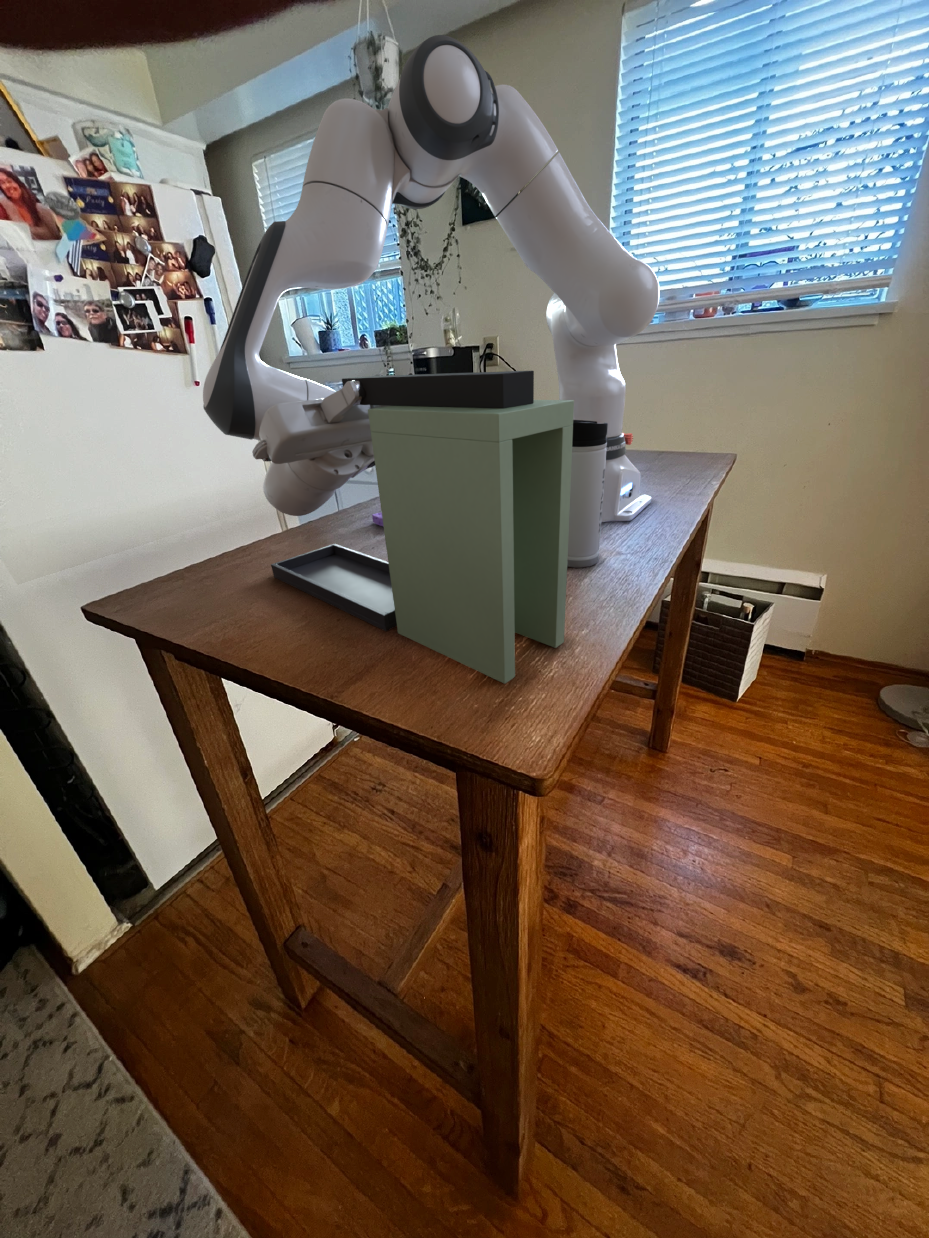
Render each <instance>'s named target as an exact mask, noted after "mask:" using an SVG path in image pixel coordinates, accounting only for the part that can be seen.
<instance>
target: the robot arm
mask: <svg viewBox="0 0 929 1238" xmlns="http://www.w3.org/2000/svg"><path fill="white" fill-rule="evenodd" d="M529 104H530V103H528V102H527V101H526V99H525V98H524V97H523V96H522V94H521V93H520V92H519V91H518V90H517V89H516V88H515V87H513V86H512V85H509V84H504V83H503V84H498V85H495V83H494V80H493V78H492V75H490V73H489V72H488V71H487V70H485V68H484V66H483V65H482V63H481V62H480V60H479V59H478V58H477V56H476V55H475V54H474V53H473V52H472V51H471V50H470V49H469V48H468V47H467V46H466V45H464V44H463V43H462V42H461V41H460V40H457V39H456V38H455V37H452V36H449V35H445V34H435V35H431V36H430V37H428V38H426V39H425V40H423V41H422V42H421V43H420V44H419V45H418V46H416V48H415V49H414V50H413V52H412V53H411V54H410V55H409V57H408V58H407V60H406V62H405V64H404V65H403V67H402V71H401V74H400V78H399V80H398V82H397V84H396V85H395V88H394V90H393V92H392V94H391V97H390V100H389V102H388V105H387V107H385V108H383V109H374V108H373V107H372V106H371V105H369V104H367V103H365V102H364V101H361V100H358V99H355V98H347V97H346V98H339V99H337V100H335V101H333V102H332V103H331V104H329V105H328V106H327V108H326V109H325V111H324V112H323V115H322V117H321V120H320V122H319V125H318V128H317V131H316V133H315V136H314V138H313V142H312V146H311V149H310V152H309V156H308V160H307V164H306V168H305V172H304V177H303V182H302V188H301V191H300V192H301V193H300V197H299V201H298V203H297V205H296V208H295V209H294V211H293V213H292V214H291V215H290V216H289V217H288V218H287V219H286V220H279V221H277V220H276V221H273V222H272V223H271V224H270V225H269V226H268V228H267V229H266V231H265V232H264V233H263V236H262V237H261V239H260V240H259V243H258V245H257V248H256V250H255V253H254V254H253V258H252V260H251V263H250V266H249V268H248V271H247V273H246V276H245V279H244V281H243V284H242V287H241V290H240V293H239V296H238V299H237V301H236V304H235V306H234V310H233V312H232V315H231V319H230V321H229V324H228V327H227V330H226V332H225V335H224V338H223V341H222V344H221V346H220V348H219V352H218V354H217V355H216V357H215V359H214V360H213V362H212V364H211V365H210V367H209V369H208V372H207V374H206V377H205V379H204V383H203V386H202V387H203V388H202V402H203V403H202V404H203V406H202V407H203V410H204V412H205V413H206V415H207V417H208V418H209V419H210V421H211V422H212V424H214V425H215V426H216V428H217V429H218V430H220V432H222V433H223V434H224V435H225V436H229V437H235V438H241V439H246V440H251V441H252V440H256V441H258V442H257V443H256V444H255V446H254V448H253V449H252V457H253V458H254V460H262V461H263V462H270V464H269V466H268V467H267V468H268V469H267V471H266V473H265V476H264V480H263V483H262V490H263V494H264V497H265V499H266V500H267V502H268V503H269V504H270V505H271V506H272V507H273V508H274V509H275V510H277V511H278V512H280V513H282V514H285V515H287V516H293V517H302V516H307V515H310V514H311V513H313V512H315V511H317V510H318V509H319V508H321V507H322V506H324V504H326V503H327V502H328V501H329V500H330V499H331V498H332V497H333V496H334V495H335V493H336V491H337V490H339V489H340V488H341V487H343V486H344V485H345V484H346V483H347V482H348V481H349V480H350V479H353V478H355V477H357V476H358V475H359V474H361V473H362V472H364V471H366V470H368V469H371V468H373V467H375V460H374V453H373V445H372V438H371V430H370V423H369V415H368V409H373V408H380V407H388V406H386V405H359V404H361V402H362V401H363V399H365V397H366V391H365V389H364V388H363V384H362V382H361V381H348V382H346V384H345V385H344V386H343V385H342V388H340V389H338V390H335V389H333V388H331V387H329V386H326V385H323V384H321V383H318V382H316V381H313V380H310V379H307V378H305V377H300V376H298V375H295V374H292V373H289V372H287V371H284V370H281V369H279V368H276V367H274V366H271V365H268V364H267V363H265V362H264V361H262V360H261V358H260V352H261V349H262V346H263V343H264V341H265V337H266V335H267V332H268V330H269V327H270V324H271V321H272V319H273V315H274V312H275V310H276V307H277V305H278V302H279V300H280V298H281V296H282V295H283V294H284V293H285V292H287V291H289V290H294V289H318V290H343V289H349V288H354V287H357V286H358V285H361V284H362V283H364V282H366V281H367V280H368V279H369V278H370V277H372V275H374V273H375V272H376V270H377V267H378V266H379V262H380V260H381V258H382V254H383V250H384V246H385V242H386V238H387V234H388V233H387V232H388V227H389V222H390V218H391V217H390V216H391V210H392V207H393V205H398V206H401V207H404V208H406V209H410V210H423V209H427V208H430V207H431V206H433V205H434V204H436V203H437V202H438V201H440V200H441V198H443V196H444V195H445V193H446V192H447V190H448V189H449V188H450V187H451V186H452V185H453V184H454V183H455V181H456V180H457V178H459V177H460V178H463V179H464V180H467V181H468V182H469V183H470V184H472V185H473V186H474V187H475V188H476V189H477V190H478V191H479V192H480V194H481V195H482V197H483V198H484V200H485V202H486V204H487V205H488V207H489V209H490V211H491V212H492V214H493V216H494V217H495V219H496V221H497V222H498V224H499V226H500V227H501V228H502V230H503V232H504V234H505V235H506V237H507V239H508V240H509V242H510V243H511V245H512V247H513V248H514V249H515V251H516V252H517V255H518V256H519V257H520V259H521V260H522V262H523V263H524V265H525V266H526V267H527V269H528V270H530V271H531V272H533V273H534V274H535V275H536V276H537V277H539V278H540V279H541V280H542V281H543V282H544V283H545V284H546V285H547V286H548V287H549V289H550V290H551V291H552V292H553V294H551V296H550V297H549V300H548V303H547V306H546V307H547V308H546V314H545V315H546V316H545V317H546V323H547V324H546V325H547V328H548V330H549V332H550V334H551V337H552V344H553V351H554V358H555V359H554V360H555V364H556V373H557V381H558V396H559V397H558V400H574V413H573V420H586V421H597V423H608V429H607V435H606V437H607V446H606V463H605V477H604V491H603V505H602V519H601V523H606V522H629V521H632V520H634V519H635V518H636V517H637V516H638V515H639V514H640V513H641V512H642V511H643V510H645V508H647V506H648V505H650V504H651V503H652V496H651V495H648V494H645V493H641V481H642V478H641V472H640V470H638V468H637V467H636V466H635V465H634V464H633V463H632V462H631V460H630V459H629V458H628V457H627V456H626V455H625V454H627V447H626V446H631V445H632V443H633V441H634V440H633V439H634V435H633V433H631V432H630V433H625V432H623V425H624V417H625V416H624V415H625V403H626V391H627V387H626V382H625V379H624V377H623V376H622V374H621V371H620V366H619V360H618V355H617V345H619V344H623V343H624V342H625V343H626V341H628V340H631V339H632V338H634V337H636V336H637V335H638V334H640V333H642V332H643V331H645V329H647V328H648V327H649V325H650V324H651V322H652V321H653V319H654V317H655V315H656V313H657V310H658V307H659V303H660V297H661V296H660V294H661V293H660V292H661V291H660V283H659V279H658V277H657V275H656V273H655V271H654V270H653V268H652V267H650V265H648V264H647V263H646V262H644V261H642V260H640V259H638V258H636V257H635V256H633V254H631V253H630V252H629V251H628V250H627V249H626V248H625V247H624V246H623V245H622V244H621V242H620V241H619V240H618V239H617V238H616V237H615V236H614V234H613V233H611V231H610V230H609V229H608V228H607V226H605V224H604V223H603V222H602V221H601V219H600V218H599V217H598V216H597V215H596V214H595V212H594V211H593V209H592V208H591V206H590V205H589V203H588V202H587V200H586V198H585V196H584V195H583V193H582V191H581V189H580V187H579V185H578V183H577V182H576V179H575V178H574V176H573V175H572V173H571V171H570V169H569V167H568V166H567V163H566V161H565V160H564V158H563V156H562V154H561V153H560V151H559V148H558V147H557V145H556V144H555V142H554V140H553V138H552V136H551V135H550V133H549V131H548V130H547V128H546V127H545V125H544V123H543V122H542V121H541V119H540V118H539V117H538V115H537V113H536V112H535V110H534V109H533V108H532V107H531V105H529Z"/></svg>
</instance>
